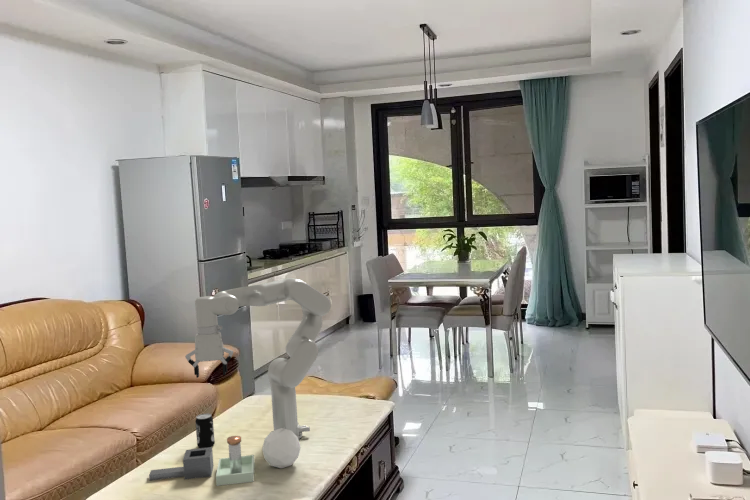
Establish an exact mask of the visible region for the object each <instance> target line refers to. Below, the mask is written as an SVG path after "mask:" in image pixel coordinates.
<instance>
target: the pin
mask: <svg viewBox="0 0 750 500" xmlns="http://www.w3.org/2000/svg"><path fill="white" fill-rule="evenodd" d="M241 442H242V436H240V435H232V436H229V437H227V438H226V443H227V444H228V458H229V459H230V473H231V474H237V473H242V461H241V456H242V450H241V449H242V446H241Z"/></svg>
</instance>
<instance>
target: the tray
mask: <svg viewBox="0 0 750 500" xmlns="http://www.w3.org/2000/svg"><path fill="white" fill-rule="evenodd" d="M241 461H242V473H237V474H231V473H230V459H229V457H223V458H222V457H221V458H218V464H217V468H216V469H217V470H216V475H215V484H216V487H219V486H226V485H235V484H243V483H244V484H245V483H251V482H254V481H255V480H254V479H255V478H254V477H255V455H254V454H251V455H241Z"/></svg>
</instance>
